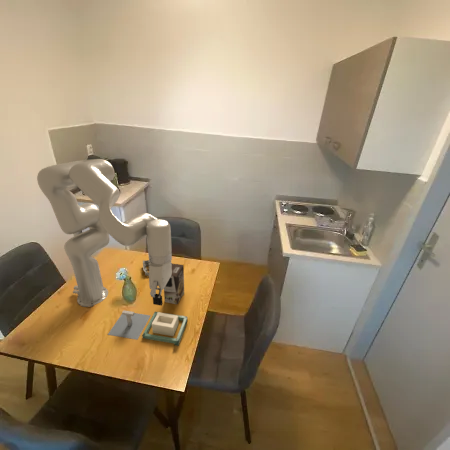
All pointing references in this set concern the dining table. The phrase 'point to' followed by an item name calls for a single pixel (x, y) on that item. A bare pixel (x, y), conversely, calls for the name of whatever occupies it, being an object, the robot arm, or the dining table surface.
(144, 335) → the tray
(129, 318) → the grey plate with peg
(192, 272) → the dining table surface
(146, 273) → the grey chain bracelet
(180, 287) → the coffee box
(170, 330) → the white hollow rectangular block
